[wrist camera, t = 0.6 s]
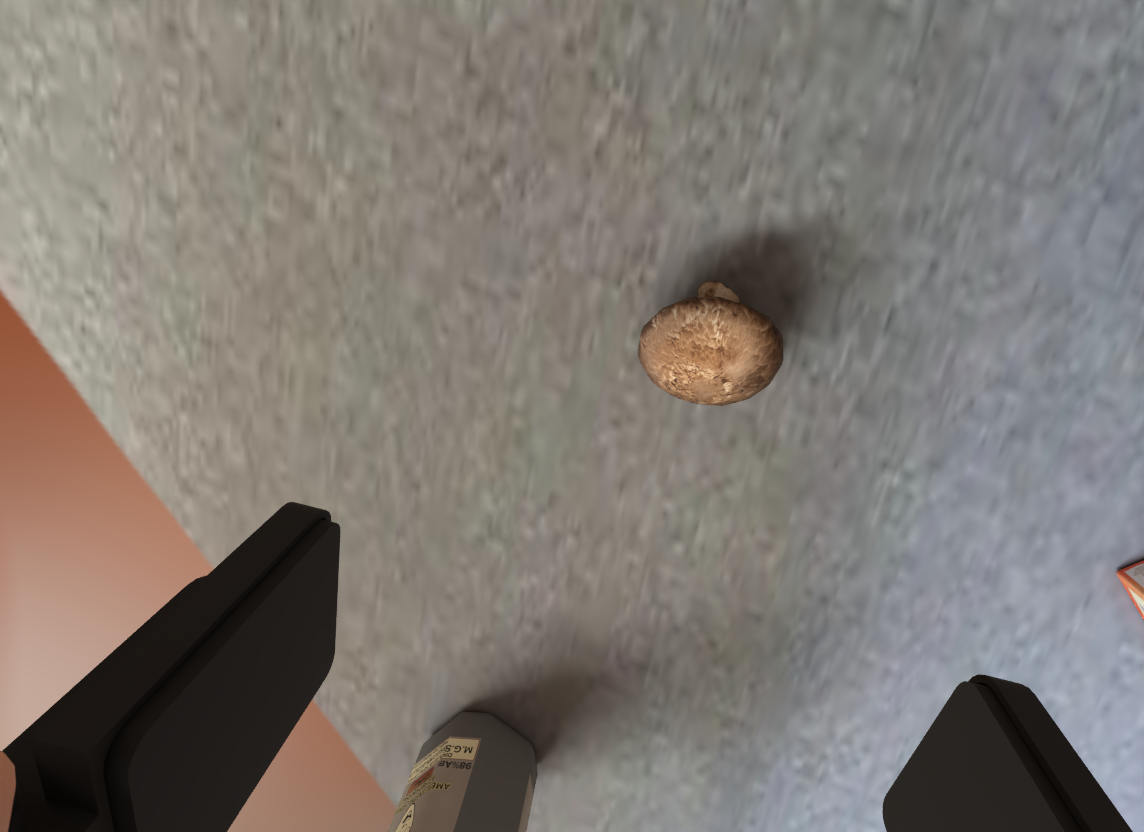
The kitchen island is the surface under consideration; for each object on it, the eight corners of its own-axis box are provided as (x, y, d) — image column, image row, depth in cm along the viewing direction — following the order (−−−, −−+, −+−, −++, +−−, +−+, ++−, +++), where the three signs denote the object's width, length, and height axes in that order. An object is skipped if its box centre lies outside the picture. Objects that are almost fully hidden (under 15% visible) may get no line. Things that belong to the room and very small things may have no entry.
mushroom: (718, 230, 31) (715, 324, 28) (810, 302, 35) (817, 393, 32) (618, 301, 37) (608, 385, 34) (706, 356, 41) (704, 437, 38)
